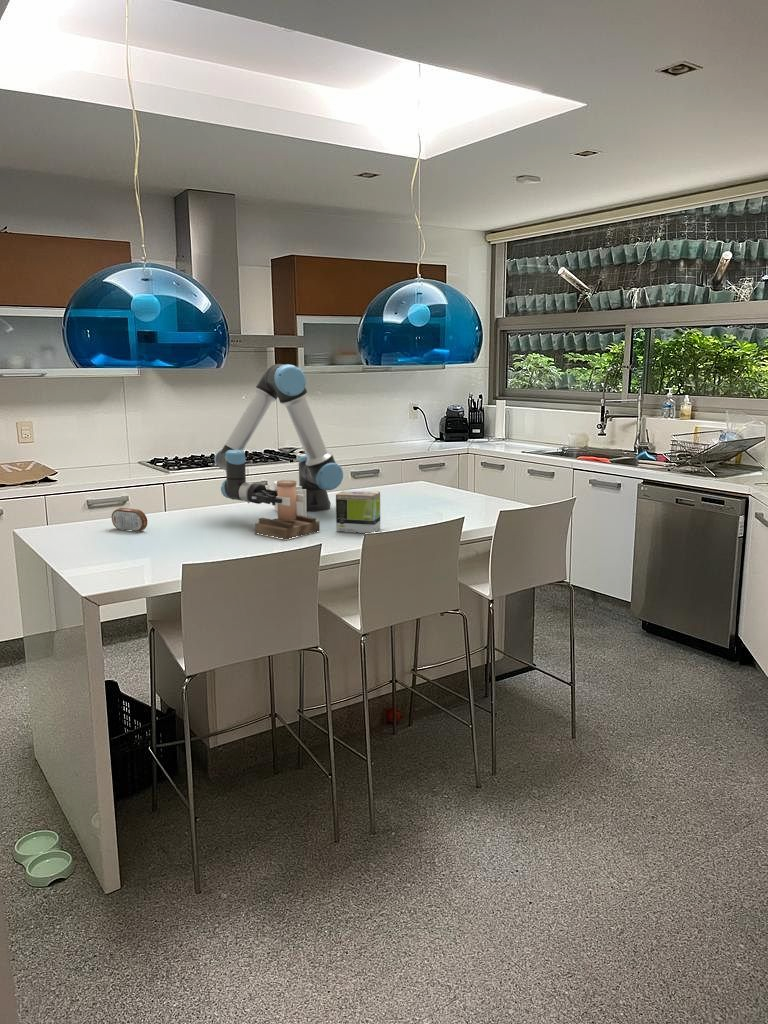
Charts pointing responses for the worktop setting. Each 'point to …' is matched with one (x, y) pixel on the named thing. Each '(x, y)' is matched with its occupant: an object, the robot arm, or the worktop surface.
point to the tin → (129, 519)
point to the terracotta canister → (289, 491)
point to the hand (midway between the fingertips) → (296, 500)
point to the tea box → (358, 511)
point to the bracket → (300, 506)
